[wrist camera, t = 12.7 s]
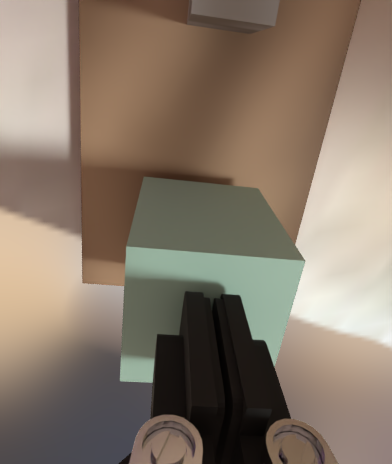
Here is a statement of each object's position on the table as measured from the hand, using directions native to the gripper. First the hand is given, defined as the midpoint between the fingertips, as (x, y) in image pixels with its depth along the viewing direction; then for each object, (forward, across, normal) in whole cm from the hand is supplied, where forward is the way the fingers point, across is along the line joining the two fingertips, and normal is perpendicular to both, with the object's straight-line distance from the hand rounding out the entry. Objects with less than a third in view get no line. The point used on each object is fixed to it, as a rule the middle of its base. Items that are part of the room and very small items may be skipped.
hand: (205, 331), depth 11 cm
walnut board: (+8, 0, -5) cm, 10 cm away
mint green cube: (+7, 0, 0) cm, 7 cm away
